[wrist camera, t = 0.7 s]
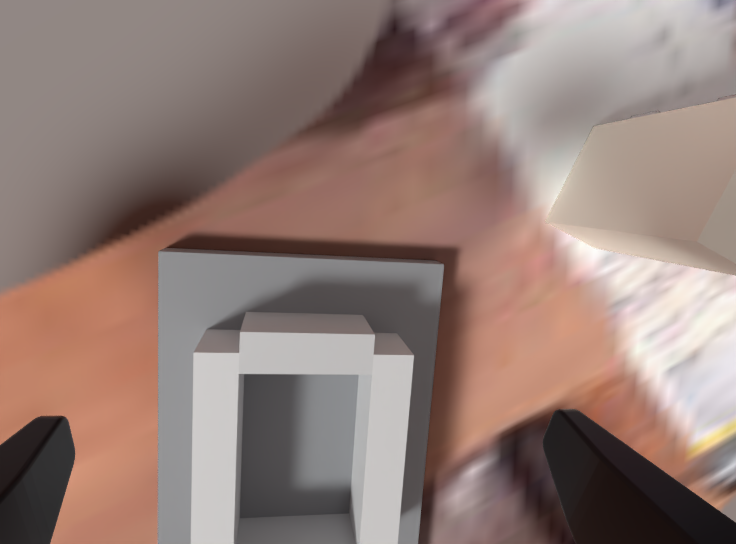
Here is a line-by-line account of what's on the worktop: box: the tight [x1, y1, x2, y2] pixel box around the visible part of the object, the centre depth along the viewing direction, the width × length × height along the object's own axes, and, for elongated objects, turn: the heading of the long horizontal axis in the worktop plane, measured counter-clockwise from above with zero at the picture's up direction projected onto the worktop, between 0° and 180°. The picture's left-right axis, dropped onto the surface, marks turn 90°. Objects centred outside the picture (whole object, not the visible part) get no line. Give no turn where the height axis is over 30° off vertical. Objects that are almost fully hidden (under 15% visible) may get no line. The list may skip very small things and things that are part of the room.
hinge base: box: [158, 248, 444, 544], centre depth 21 cm, size 16×12×4 cm
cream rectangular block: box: [545, 95, 736, 275], centre depth 19 cm, size 6×3×9 cm, turn 154°
